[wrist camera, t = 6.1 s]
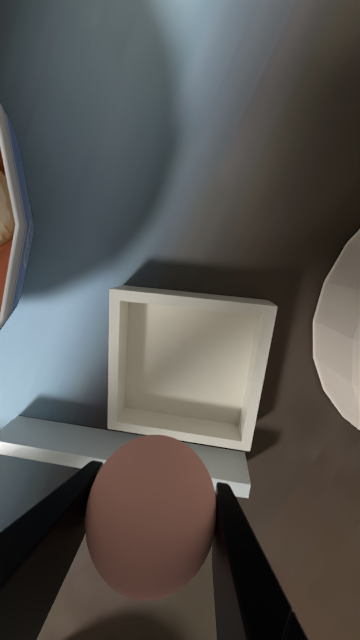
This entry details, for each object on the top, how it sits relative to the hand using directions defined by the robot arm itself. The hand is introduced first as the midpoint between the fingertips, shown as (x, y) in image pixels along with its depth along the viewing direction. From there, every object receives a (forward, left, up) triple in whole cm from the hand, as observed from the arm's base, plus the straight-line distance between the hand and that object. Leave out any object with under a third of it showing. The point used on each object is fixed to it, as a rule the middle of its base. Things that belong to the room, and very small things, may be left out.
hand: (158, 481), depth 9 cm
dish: (0, 0, -10) cm, 11 cm away
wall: (-4, -8, -10) cm, 14 cm away
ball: (0, 0, +1) cm, 1 cm away
